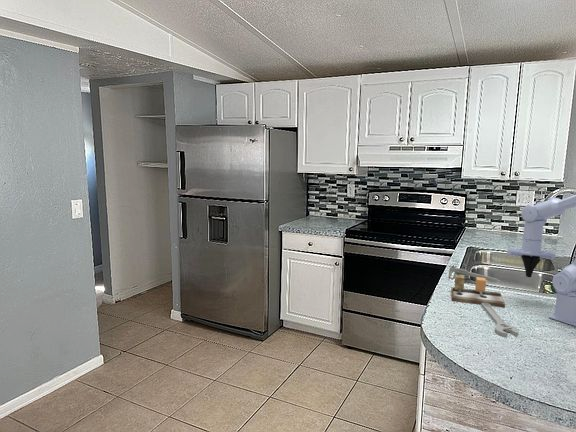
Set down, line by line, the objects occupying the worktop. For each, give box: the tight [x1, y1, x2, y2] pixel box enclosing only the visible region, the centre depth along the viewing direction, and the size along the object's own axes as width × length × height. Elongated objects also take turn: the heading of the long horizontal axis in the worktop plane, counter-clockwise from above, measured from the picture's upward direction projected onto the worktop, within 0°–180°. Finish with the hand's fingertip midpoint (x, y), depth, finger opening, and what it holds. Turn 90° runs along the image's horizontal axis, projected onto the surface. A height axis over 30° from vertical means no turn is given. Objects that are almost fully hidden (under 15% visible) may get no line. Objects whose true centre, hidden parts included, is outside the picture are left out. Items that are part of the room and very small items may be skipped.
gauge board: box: [450, 274, 506, 308], centre depth 148 cm, size 17×12×7 cm
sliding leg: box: [474, 277, 487, 297], centre depth 148 cm, size 3×8×5 cm, turn 159°
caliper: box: [448, 264, 502, 283], centre depth 170 cm, size 20×1×6 cm, turn 76°
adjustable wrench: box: [481, 303, 519, 338], centre depth 130 cm, size 25×6×2 cm, turn 165°
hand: (528, 276), depth 144 cm, fingers closed
